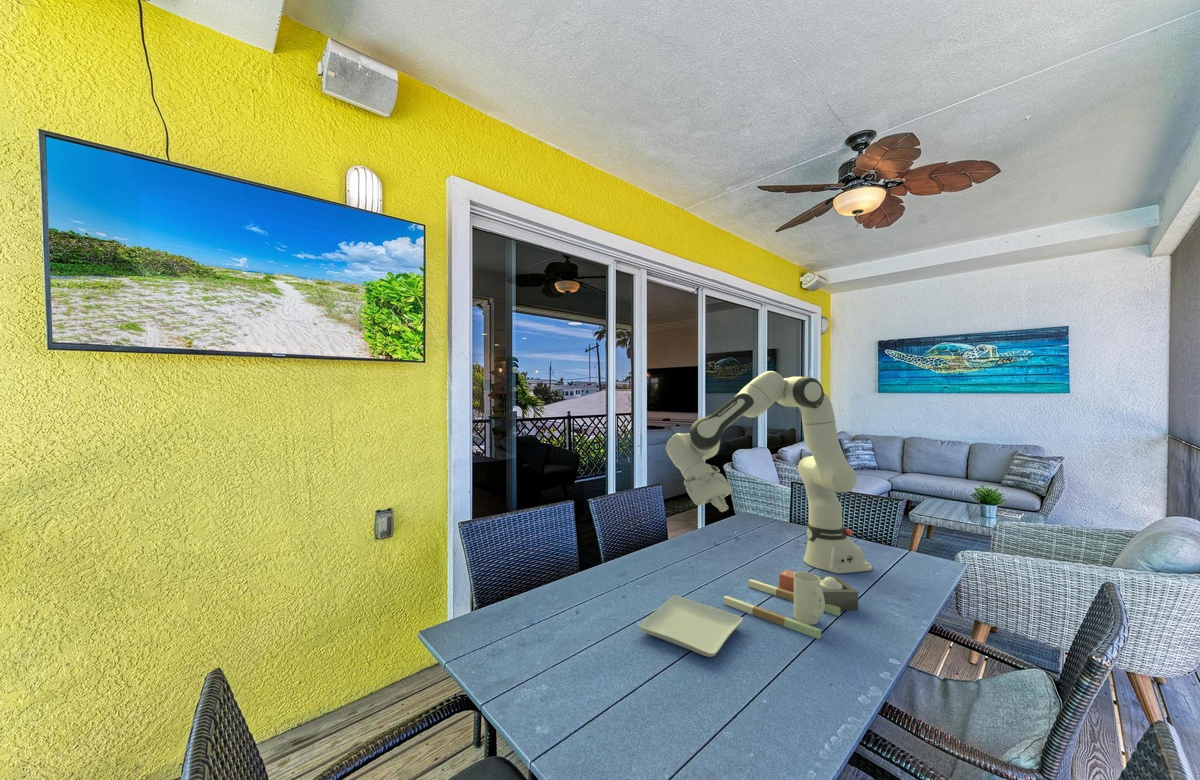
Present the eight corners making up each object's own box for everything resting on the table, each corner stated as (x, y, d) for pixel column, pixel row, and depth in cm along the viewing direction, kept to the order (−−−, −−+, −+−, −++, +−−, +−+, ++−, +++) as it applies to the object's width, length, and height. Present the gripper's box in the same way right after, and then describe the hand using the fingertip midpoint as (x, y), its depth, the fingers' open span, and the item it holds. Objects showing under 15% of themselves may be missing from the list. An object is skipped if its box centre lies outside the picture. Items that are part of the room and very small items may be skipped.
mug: (787, 614, 128) (788, 572, 128) (807, 611, 130) (808, 570, 130) (812, 633, 119) (813, 588, 119) (834, 630, 120) (834, 585, 120)
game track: (723, 603, 135) (723, 597, 135) (750, 585, 148) (750, 579, 148) (819, 639, 116) (819, 631, 116) (840, 614, 129) (840, 607, 129)
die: (779, 589, 145) (779, 572, 144) (785, 584, 148) (785, 568, 148) (795, 594, 141) (795, 577, 141) (801, 589, 145) (801, 572, 145)
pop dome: (835, 587, 140) (835, 572, 140) (846, 596, 133) (847, 581, 133) (814, 587, 139) (814, 572, 139) (825, 596, 133) (825, 581, 133)
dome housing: (837, 593, 142) (838, 576, 142) (857, 610, 131) (858, 591, 131) (804, 594, 141) (804, 576, 141) (822, 610, 131) (822, 591, 131)
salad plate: (714, 668, 104) (714, 653, 104) (636, 637, 117) (636, 624, 117) (744, 629, 121) (744, 616, 121) (673, 605, 134) (674, 594, 134)
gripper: (687, 474, 142) (715, 510, 136) (719, 466, 157) (746, 499, 150) (675, 486, 146) (702, 522, 139) (708, 477, 160) (733, 509, 154)
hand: (725, 510), depth 145 cm, fingers closed
